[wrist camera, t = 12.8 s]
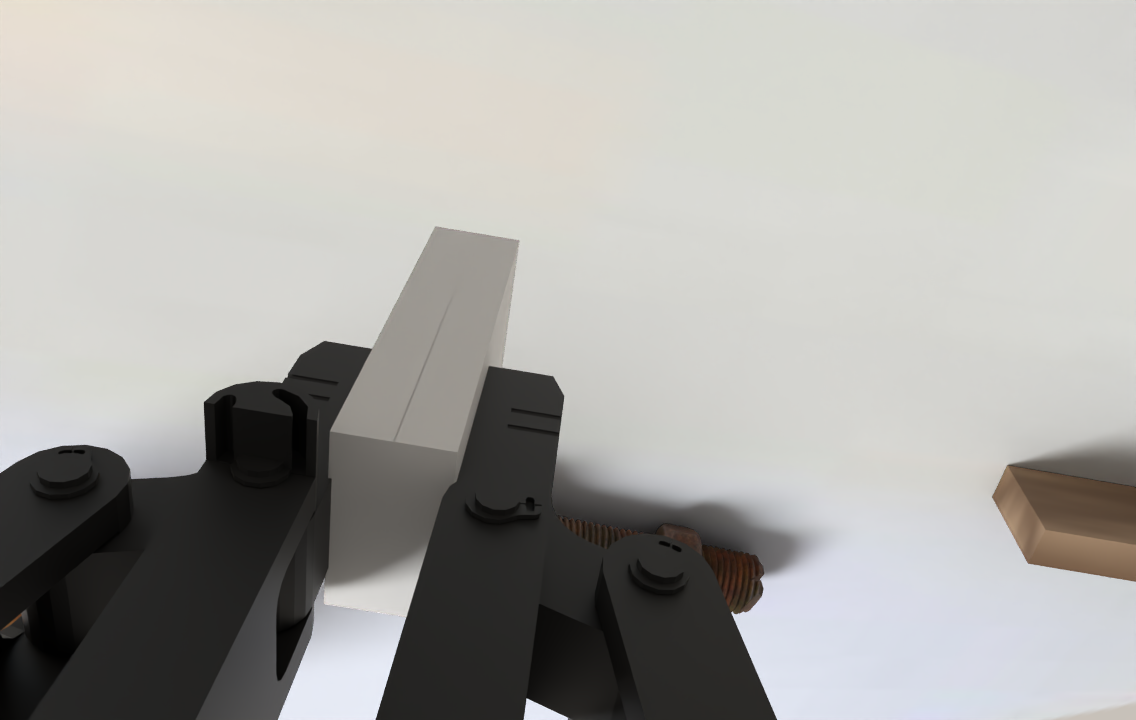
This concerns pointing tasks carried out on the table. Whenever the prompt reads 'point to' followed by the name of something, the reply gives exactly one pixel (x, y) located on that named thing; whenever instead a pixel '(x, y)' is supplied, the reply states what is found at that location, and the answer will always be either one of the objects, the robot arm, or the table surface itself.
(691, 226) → the table surface
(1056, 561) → the frame
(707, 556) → the bolt
